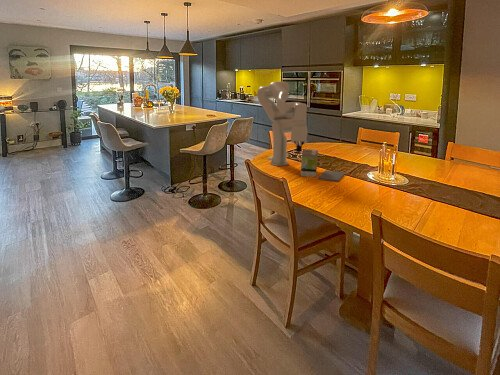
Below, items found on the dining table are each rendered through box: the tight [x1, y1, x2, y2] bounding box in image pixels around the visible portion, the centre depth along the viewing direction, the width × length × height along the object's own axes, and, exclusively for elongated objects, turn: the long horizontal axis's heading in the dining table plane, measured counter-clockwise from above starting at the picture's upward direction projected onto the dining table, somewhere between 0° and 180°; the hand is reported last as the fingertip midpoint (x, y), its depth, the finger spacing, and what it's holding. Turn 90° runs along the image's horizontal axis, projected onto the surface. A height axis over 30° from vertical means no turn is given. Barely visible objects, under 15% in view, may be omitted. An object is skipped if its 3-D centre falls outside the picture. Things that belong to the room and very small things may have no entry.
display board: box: [316, 169, 346, 183], centre depth 218 cm, size 13×18×1 cm
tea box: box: [300, 148, 319, 178], centre depth 222 cm, size 15×10×15 cm
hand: (298, 151), depth 223 cm, fingers closed
